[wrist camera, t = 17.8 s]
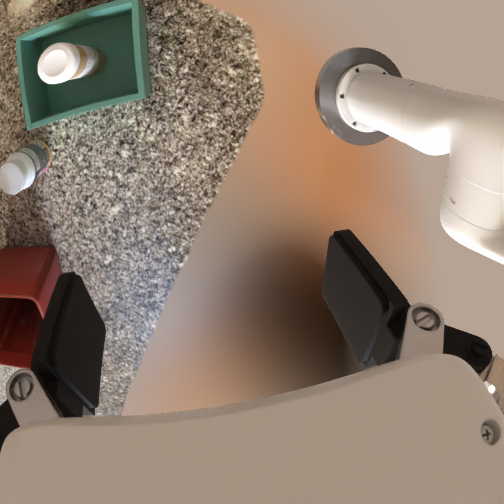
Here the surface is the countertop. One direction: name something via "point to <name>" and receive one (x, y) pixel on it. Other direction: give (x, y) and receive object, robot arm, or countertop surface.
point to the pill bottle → (24, 167)
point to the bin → (94, 87)
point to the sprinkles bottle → (69, 62)
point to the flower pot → (24, 299)
